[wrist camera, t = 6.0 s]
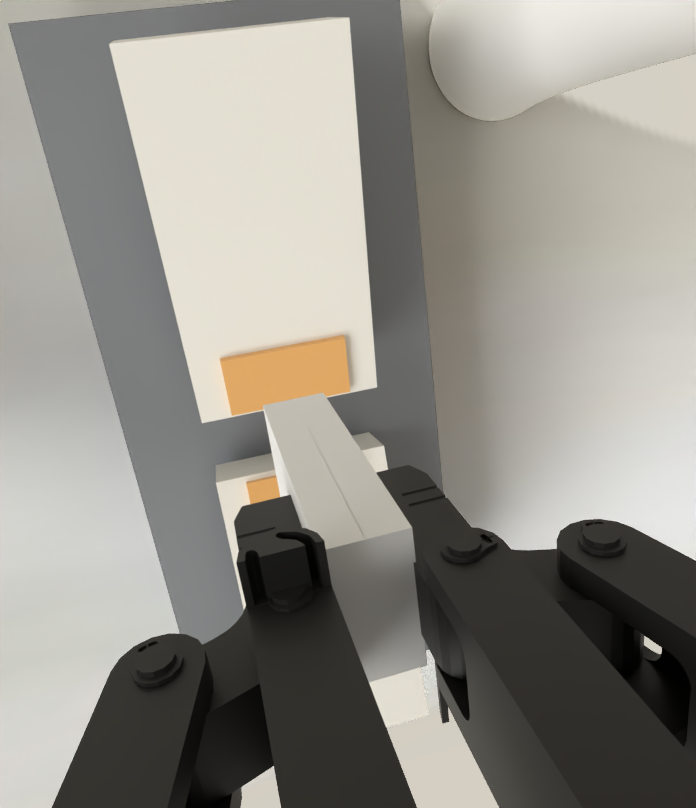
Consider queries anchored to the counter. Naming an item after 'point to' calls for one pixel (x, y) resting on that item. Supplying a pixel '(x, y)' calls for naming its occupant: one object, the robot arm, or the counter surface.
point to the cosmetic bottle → (548, 47)
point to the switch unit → (149, 293)
